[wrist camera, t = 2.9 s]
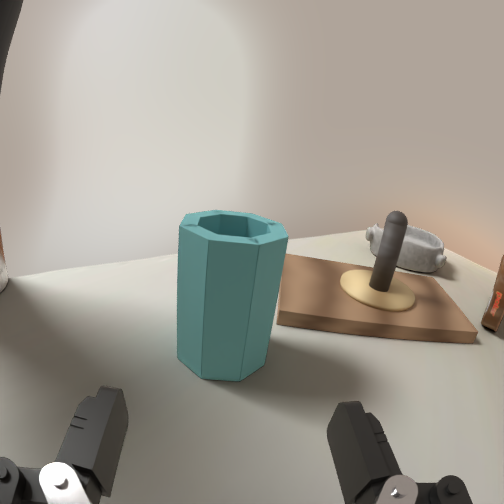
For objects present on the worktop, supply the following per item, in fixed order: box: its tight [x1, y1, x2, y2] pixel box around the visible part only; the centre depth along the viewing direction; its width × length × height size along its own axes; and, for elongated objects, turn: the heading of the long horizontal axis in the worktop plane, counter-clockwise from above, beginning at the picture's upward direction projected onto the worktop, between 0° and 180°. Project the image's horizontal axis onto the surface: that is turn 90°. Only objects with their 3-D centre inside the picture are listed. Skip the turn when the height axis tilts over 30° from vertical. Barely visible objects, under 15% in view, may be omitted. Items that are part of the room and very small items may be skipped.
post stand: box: [277, 211, 478, 343], centre depth 31 cm, size 22×14×11 cm, turn 83°
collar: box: [177, 210, 288, 381], centre depth 21 cm, size 6×6×10 cm
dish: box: [366, 224, 446, 272], centre depth 48 cm, size 14×14×5 cm
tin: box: [481, 255, 504, 332], centre depth 30 cm, size 15×3×8 cm, turn 129°
